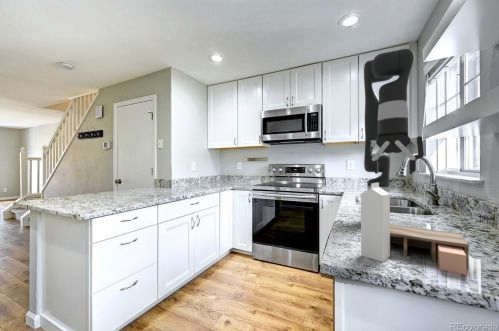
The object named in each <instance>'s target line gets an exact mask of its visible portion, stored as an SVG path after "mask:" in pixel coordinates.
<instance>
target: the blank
mask: <svg viewBox="0 0 499 331" xmlns="http://www.w3.org/2000/svg"><path fill="white" fill-rule="evenodd" d="M436 262H437V264H438V268H439V270H441V271H445V272H450V273H455V274H460V275H465V274H466V275H465V276H467V268H466V254H465V253H464V251H463V249H462V248H461V247H460V246H454V245H448V244H441V243H436Z"/></svg>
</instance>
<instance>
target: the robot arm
mask: <svg viewBox="0 0 499 331" xmlns="http://www.w3.org/2000/svg"><path fill="white" fill-rule="evenodd" d="M415 59H416V57H415V53H414V51H413V50H412V49H410V48H400V49H396V50H391V51H386V52H381V53H378V54H377V55H376V56H375V57H374V58H373V59H371V60H367V61H366V62H365V63H364V65H363V81H364V82H363V83H364V84H363V86H364V137H365V138H364V140H365V141H364V142H365V143H364V156H363V157H364V158H363V159H364V160H363V167H364V170H365V172H367V173H374V174H376V175H377V174H379V173H381V174H380V175H378V176H377V177H374V178H371V179H368V180H367V190H369V189H371V183H379V188H381V189H383V190H384V191H386V192H388V193H389V194H390V192H391V191H390V171H391V168H390V167H391V156H390V155H389V154H393V153H394V154H400V153H402V152H403V153H404V154H405V155H406V157H407V158H408V159H410V160H409V164H408V165H409V166H408V167H409V169H408V170H409V172H408V174H409V175H413V173H416V170H417V168H416V166H417V164H416V162H417V160H419V159H422V158H424V157H425V156H424V155H425V154H424V153H425V152H424V143H423V142H424V141H423V137H422V136H421V135H418V136H416V137H410V136H409V115H410V114H409V106H408V83H409V80H410V75H411V72H412V69H413V67H414V63H415ZM393 77H398V78H396V79H395V80H393V81H389V80H391V79H393ZM386 81H389V82H387V83H385V84H383V85H381V86H380V87H379V89H378V95H377V94H376V92H375V90H374V87H373V84H374V83H381V82H386ZM411 142H412V143H413V145H414V146H417V154H415V155H414V154H413V153H412V152H411V151H410V150H409V149H408V148H407V147H408V146H409V145H410V144H411ZM376 145H377V146H378V147H379V149H378V150H377V151H376V152H374V153H373V150H374V148H375V146H376ZM390 195H391V194H390Z"/></svg>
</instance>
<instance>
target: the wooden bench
mask: <svg viewBox="0 0 499 331" xmlns="http://www.w3.org/2000/svg"><path fill="white" fill-rule="evenodd" d="M436 243H441V244H448V245H454V246H460V247H461V248H462V249H463V251H464V253H465V254H466V269H470V268H469V267H470V263H469V262H470V260H469V259H470V255H469V252H470V250H469V249H470V247H469V245H470V244H469V242H467V241H466V239H465V238H464V237H463V235H462V234H461V233H457V232H450V231H442V230H437V229H436V230H435V229H429V228H423V227H422V228H421V227H412V226H404V225H397V224H391V223H390V244H398V245H403V256H405V257H408V247H415V248H421V249H428V250H429V253H430V256H431V261H432V262H437V257H436Z"/></svg>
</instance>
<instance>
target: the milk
mask: <svg viewBox="0 0 499 331" xmlns="http://www.w3.org/2000/svg"><path fill="white" fill-rule="evenodd" d="M390 195H391V194H389V193H388V192H386V191H384V190H383V189H381V188H379V183H371V189H369V190H368V189H367V190H366V191H363V192H361V193H360V255H361V257H364V258H368V259H371V260H375V261H378V262H381V263H384V262H385V261H386V260H387V259H389V258H390V256H391V242H390V224H391V220H390V218H391V215H390V214H391V213H390V212H391V210H390V208H391V206H390V205H391V203H390V201H391V200H390V197H391V196H390Z"/></svg>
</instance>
